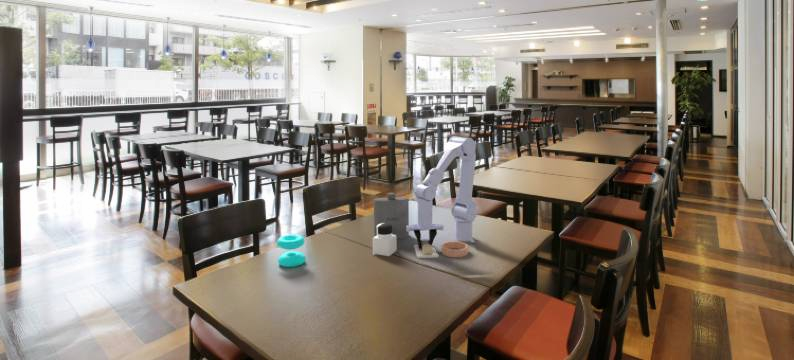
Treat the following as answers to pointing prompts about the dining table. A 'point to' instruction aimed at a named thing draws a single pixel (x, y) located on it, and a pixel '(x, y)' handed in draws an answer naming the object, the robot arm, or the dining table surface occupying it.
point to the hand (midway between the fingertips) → (424, 247)
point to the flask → (392, 214)
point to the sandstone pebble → (427, 249)
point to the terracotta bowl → (454, 253)
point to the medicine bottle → (384, 240)
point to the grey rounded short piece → (424, 242)
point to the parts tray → (419, 255)
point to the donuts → (291, 257)
